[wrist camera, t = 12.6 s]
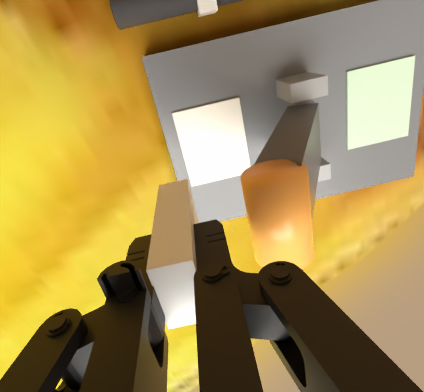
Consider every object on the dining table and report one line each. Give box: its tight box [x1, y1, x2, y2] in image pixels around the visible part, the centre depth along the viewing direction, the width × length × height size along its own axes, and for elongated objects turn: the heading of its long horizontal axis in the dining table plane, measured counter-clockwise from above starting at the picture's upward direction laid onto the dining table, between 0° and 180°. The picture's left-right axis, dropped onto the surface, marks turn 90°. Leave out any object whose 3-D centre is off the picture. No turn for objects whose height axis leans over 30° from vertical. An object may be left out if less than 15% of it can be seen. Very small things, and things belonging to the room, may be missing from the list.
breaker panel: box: [142, 0, 424, 223], centre depth 23 cm, size 20×14×5 cm
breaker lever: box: [240, 100, 321, 269], centre depth 17 cm, size 3×4×13 cm, turn 11°
